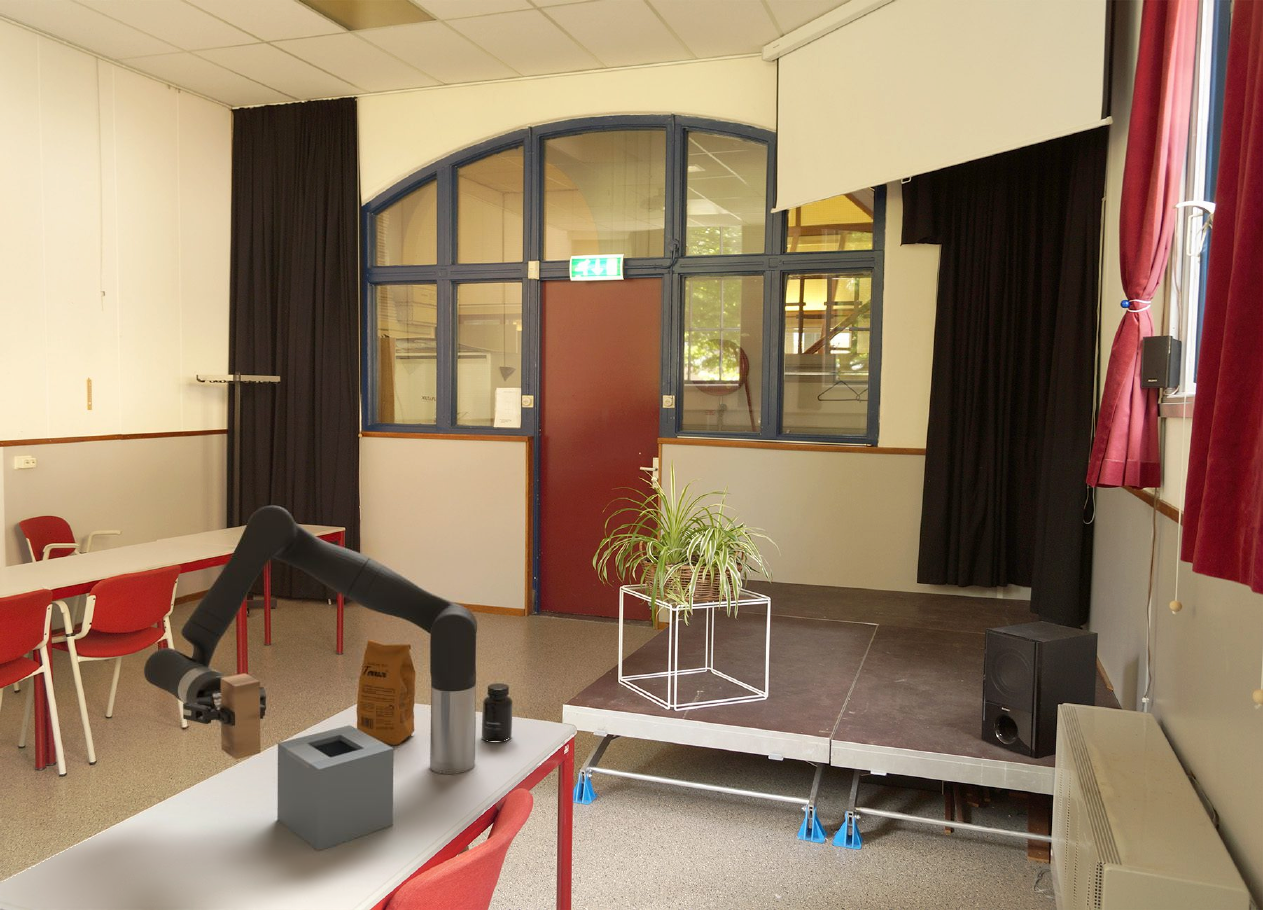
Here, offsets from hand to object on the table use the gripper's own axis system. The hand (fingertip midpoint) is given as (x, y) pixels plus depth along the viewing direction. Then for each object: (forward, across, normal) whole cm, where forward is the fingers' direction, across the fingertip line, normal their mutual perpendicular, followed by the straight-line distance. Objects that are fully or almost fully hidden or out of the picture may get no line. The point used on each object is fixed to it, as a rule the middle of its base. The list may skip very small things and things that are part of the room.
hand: (247, 716), depth 145 cm
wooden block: (-3, 0, +6) cm, 7 cm away
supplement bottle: (-18, +64, +25) cm, 70 cm away
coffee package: (-35, +45, +25) cm, 62 cm away
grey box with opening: (-3, +17, +24) cm, 30 cm away
